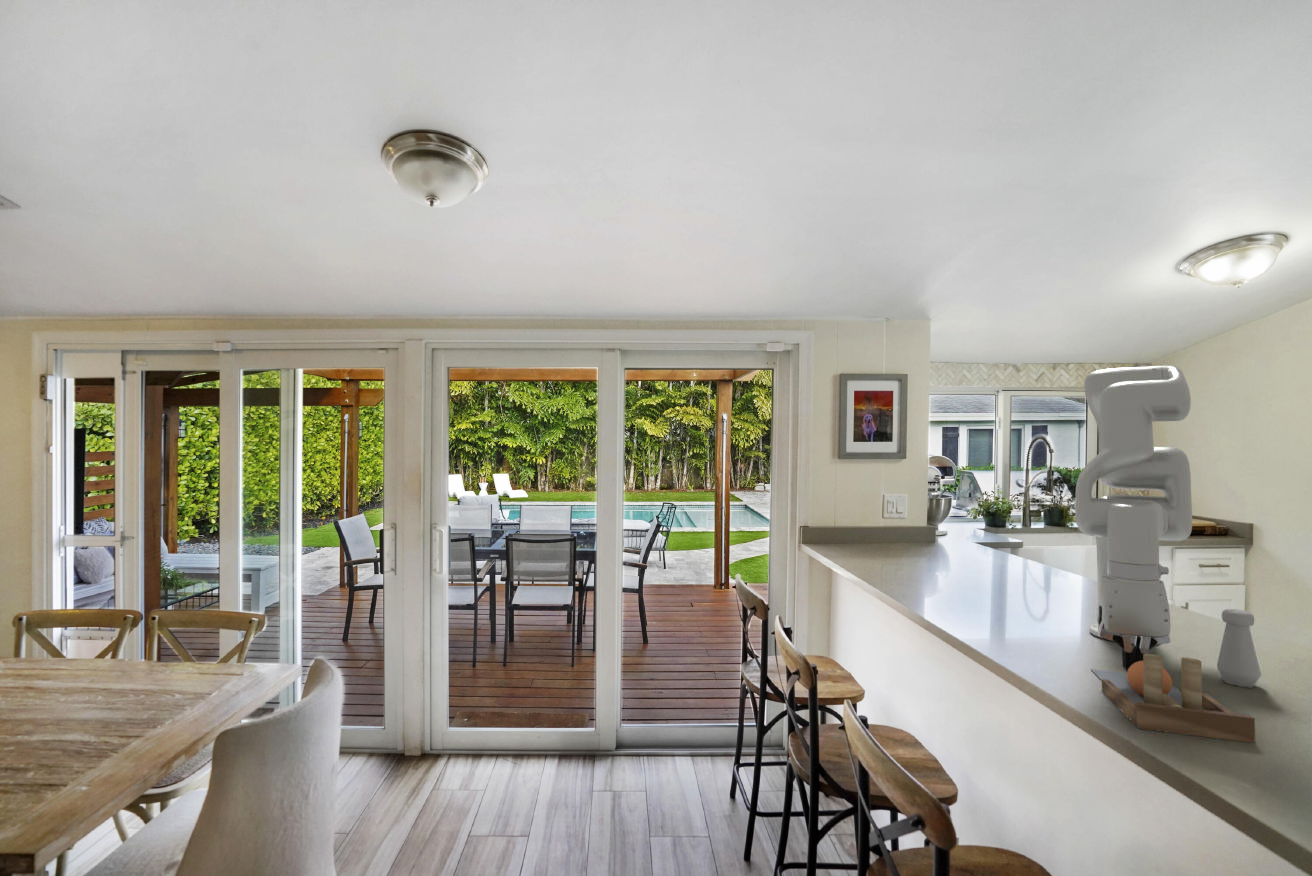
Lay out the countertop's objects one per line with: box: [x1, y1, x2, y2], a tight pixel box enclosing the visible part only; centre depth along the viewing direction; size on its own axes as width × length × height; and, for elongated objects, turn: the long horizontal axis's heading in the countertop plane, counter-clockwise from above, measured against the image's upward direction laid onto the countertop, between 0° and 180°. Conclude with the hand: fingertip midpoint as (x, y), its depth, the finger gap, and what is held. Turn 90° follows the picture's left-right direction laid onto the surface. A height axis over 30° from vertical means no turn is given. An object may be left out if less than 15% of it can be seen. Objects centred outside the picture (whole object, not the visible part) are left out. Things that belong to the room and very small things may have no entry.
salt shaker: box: [1216, 608, 1262, 688], centre depth 113 cm, size 6×6×13 cm
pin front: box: [1163, 694, 1182, 707], centre depth 98 cm, size 2×2×9 cm
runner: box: [1090, 668, 1204, 710], centre depth 105 cm, size 26×11×1 cm, turn 161°
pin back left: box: [1180, 656, 1203, 710], centre depth 98 cm, size 2×2×9 cm
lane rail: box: [1101, 679, 1256, 744], centre depth 100 cm, size 16×14×4 cm
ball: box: [1126, 661, 1173, 696], centre depth 106 cm, size 6×6×6 cm
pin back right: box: [1143, 653, 1164, 705], centre depth 100 cm, size 2×2×9 cm
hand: (1133, 672), depth 114 cm, fingers closed
